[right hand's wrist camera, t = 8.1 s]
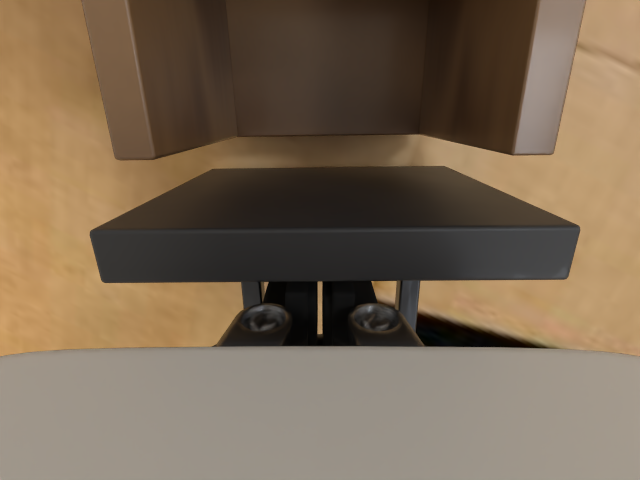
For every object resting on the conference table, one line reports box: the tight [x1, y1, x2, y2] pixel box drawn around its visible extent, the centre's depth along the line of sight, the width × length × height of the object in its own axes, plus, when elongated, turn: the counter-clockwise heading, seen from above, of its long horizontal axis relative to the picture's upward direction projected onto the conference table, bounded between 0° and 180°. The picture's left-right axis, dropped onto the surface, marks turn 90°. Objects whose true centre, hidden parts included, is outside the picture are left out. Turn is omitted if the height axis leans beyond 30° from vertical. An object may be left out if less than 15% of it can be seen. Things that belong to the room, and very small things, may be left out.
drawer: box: [81, 0, 586, 346], centre depth 10 cm, size 19×10×8 cm, turn 1°
